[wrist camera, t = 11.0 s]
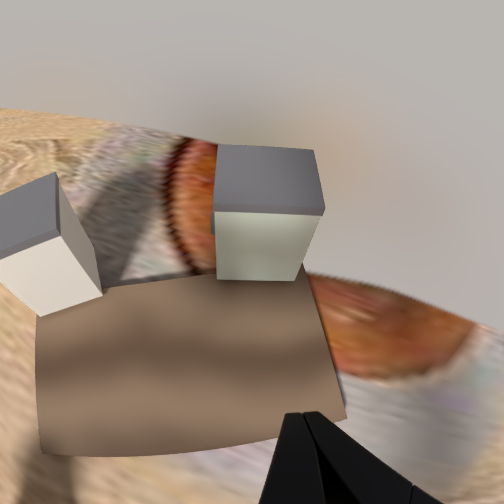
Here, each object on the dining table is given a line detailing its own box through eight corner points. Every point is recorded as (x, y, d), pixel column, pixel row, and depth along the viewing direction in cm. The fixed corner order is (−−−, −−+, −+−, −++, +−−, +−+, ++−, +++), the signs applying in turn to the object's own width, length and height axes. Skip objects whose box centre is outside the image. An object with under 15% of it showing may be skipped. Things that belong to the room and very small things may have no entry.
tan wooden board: (341, 419, 18) (347, 418, 17) (49, 453, 14) (42, 453, 14) (298, 267, 23) (301, 260, 22) (44, 302, 20) (38, 296, 19)
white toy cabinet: (103, 296, 19) (56, 228, 13) (37, 318, 18) (-26, 262, 12) (94, 246, 21) (55, 171, 15) (33, 268, 20) (-19, 204, 13)
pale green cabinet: (295, 281, 21) (325, 208, 15) (212, 279, 21) (208, 202, 14) (290, 230, 23) (313, 149, 17) (215, 227, 23) (214, 144, 16)
